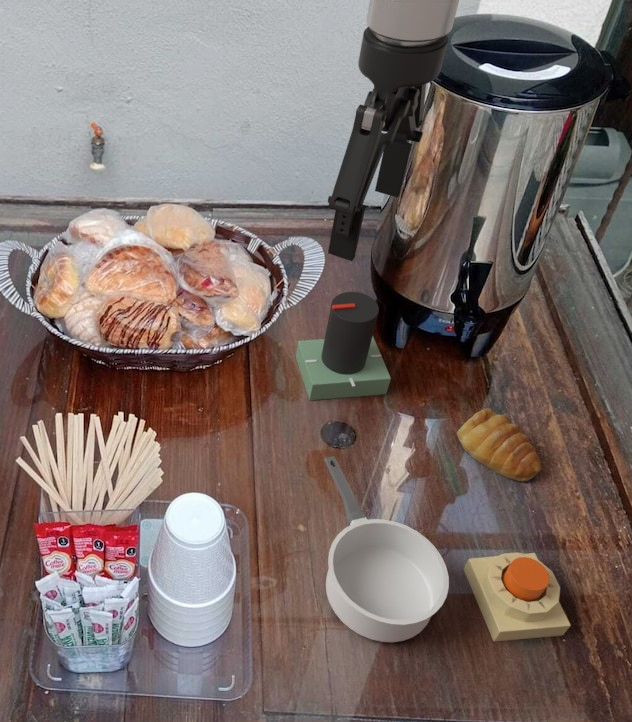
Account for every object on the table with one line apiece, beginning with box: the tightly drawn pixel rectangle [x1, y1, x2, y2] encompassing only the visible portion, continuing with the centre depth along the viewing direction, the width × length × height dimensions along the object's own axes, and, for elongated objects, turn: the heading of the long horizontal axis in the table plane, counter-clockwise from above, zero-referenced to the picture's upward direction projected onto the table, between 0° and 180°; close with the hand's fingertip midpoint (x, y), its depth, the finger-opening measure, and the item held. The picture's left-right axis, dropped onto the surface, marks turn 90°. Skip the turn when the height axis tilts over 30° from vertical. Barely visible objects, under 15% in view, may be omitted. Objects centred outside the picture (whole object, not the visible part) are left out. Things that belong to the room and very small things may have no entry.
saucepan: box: [323, 455, 450, 643], centre depth 81 cm, size 12×20×6 cm, turn 13°
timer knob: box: [321, 291, 380, 374], centre depth 96 cm, size 6×6×9 cm
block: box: [463, 551, 572, 642], centre depth 77 cm, size 7×8×4 cm
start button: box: [504, 557, 549, 601], centre depth 75 cm, size 4×4×2 cm
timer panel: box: [295, 335, 392, 401], centre depth 100 cm, size 10×10×3 cm
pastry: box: [456, 407, 542, 482], centre depth 90 cm, size 9×7×4 cm
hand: (365, 223), depth 85 cm, fingers open, 13 cm apart
